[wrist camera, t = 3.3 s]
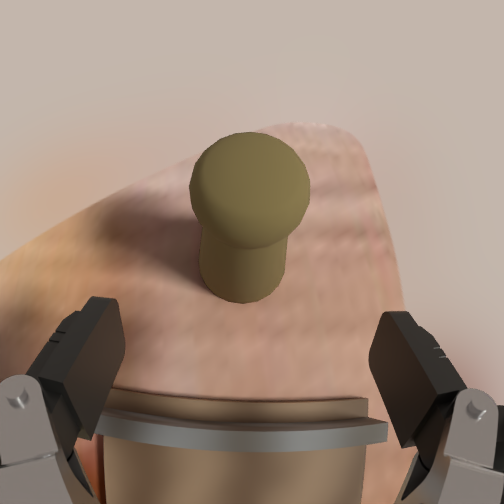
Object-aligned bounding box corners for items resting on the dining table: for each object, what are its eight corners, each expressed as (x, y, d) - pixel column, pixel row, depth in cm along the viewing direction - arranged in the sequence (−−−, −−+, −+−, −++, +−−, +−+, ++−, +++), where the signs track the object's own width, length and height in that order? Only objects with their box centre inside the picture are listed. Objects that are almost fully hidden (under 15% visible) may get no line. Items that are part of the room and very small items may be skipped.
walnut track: (116, 543, 14) (98, 567, 10) (109, 387, 19) (85, 389, 15) (348, 550, 15) (367, 573, 11) (362, 397, 19) (388, 401, 16)
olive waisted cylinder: (188, 235, 23) (161, 130, 13) (267, 211, 24) (291, 102, 14) (214, 315, 21) (198, 258, 11) (298, 286, 22) (354, 210, 12)
